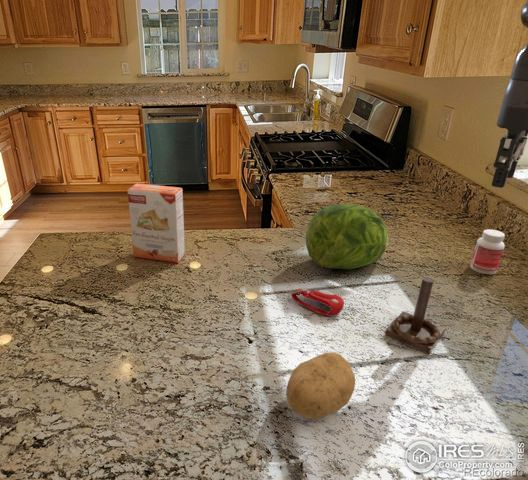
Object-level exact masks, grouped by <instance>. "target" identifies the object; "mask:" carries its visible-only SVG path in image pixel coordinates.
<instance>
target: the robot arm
mask: <svg viewBox="0 0 528 480" xmlns="http://www.w3.org/2000/svg"><path fill="white" fill-rule="evenodd" d="M520 21H521V23H522V25H523V26H524V27H525V28H527V29H528V0H526V1H525V3H524V4H523V6H522V8H521V10H520ZM511 69H512V70H511V73H510V77H509V80H508V83H507V85H506V88H505V90H504V93H503V98H502V101H501V106H500V110H499V114H498V117H497V121H496V127H498V128H501V129H506V130H507V132H506V134H505V135H504V136H502V137H501V139H500V141H499V146H498V149H497V153H496V156H495V160H494V162H493V164H492V165H493V168H494V169H495V171H494V174H493V178H492V180H491V186H492V187H494V188H500V189H503V188H504V187H505V186H506V182H507V179H512V178H514V176H515V172H516V169H517V167H518V162H519V161H520V160H521V157H522V156H523V155H524V151H525V149H526V145H527V142H528V42H527V43H526V45H525V46H523V47H522V48H520V49H519V50H518V52H517V53H516V56H515V58H514V61H513V65H512V68H511ZM502 160H504V162H502Z"/></svg>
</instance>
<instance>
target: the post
mask: <svg viewBox="0 0 528 480" xmlns="http://www.w3.org/2000/svg"><path fill="white" fill-rule="evenodd" d="M434 282H435V281H434V279H433V278H432V277H428V276H425V277H422V279H421V283H420V288H419V291H418V297H417V300H416V304H415V307H414V312H413V314H412V313H409V312H407V311H404V310H402V311H401V312H400V313H399V315H398V316H403V315H414V316H413V320H412V321H409V320H408V321H403V322H401V323H400V324H399V325H400V328H401V329H402V330H403V331H404V332H405V333H408V334H410V335H412V336H414V337H421V338H427V337H431V336H432V335H433V331H432V330H431V329H430V328H429V327H428V326H427V325H425V324H423V321H424V318H425V316H426V312H427V309H428V305H429V301H430V297H431V293H432V290H433V285H434ZM432 323H433V324H435V325H436V326H437V327H438V329H439V332H440V337H439V338H438V340H437V341H436V342H433V343H429V344H420V343H414V342H411V341H409V340H407V339H404V338H402V337H401V336H400V335H399V334H398V333H397V332H396V331H395V330H394V327H393V321H392V322H391V323H390V324H389V325H388V326H387V327H386V328H385V332H384V335H385V336H386V337H389V338H391V339H393V340H395V341H398V342H400V343H402V344H405V345H407V346H409V347H411V348H414V349H415V350H417V351H420V352H423V353H425V354H428V355H430V354H431V352H433V350H434V348H435V347H436V346H437V344H438V343H439V341H440V340H441V339H442V337H443V336H444V335H445V332H446V327H444V326H442V325H439V324H437V323H435V322H432Z"/></svg>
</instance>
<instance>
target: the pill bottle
mask: <svg viewBox="0 0 528 480" xmlns="http://www.w3.org/2000/svg"><path fill="white" fill-rule="evenodd" d="M481 235H482V237H479V238H478V239H477V240H476V244H475V247H474V251H473V255H472V258H471V261H470V264H469V267H470V268H471V270H473V271H475V272H476V273H480V274H483V275H494V274H497V272H498V268H499V266H500V263H501V259H502V256H503V253H504V250H505V247H506V246H505V242H504V240H505V236H506V235H505V233H504V232H503V231H500V230H496V229H491V228H490V229H489V228H488V229H484V230H483V231H482V234H481Z"/></svg>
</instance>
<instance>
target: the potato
mask: <svg viewBox="0 0 528 480" xmlns="http://www.w3.org/2000/svg"><path fill="white" fill-rule="evenodd" d="M355 386H356V376H355V373H354V371H353V369H352V366H351V364H350V362H349V361H348V360H347V359H346V358H344V357H343V355H342V354H339V353H337V352H333V351H332V352H330V351H329V352H324V353H321V354H319V355H316V356H314V357H312V358H310V359H308V360H306V361H305V360H304V361H303V362H301V363H299V364H298V365H297V366H296V367H295V368H294V369H293V370H292V372H291V374H290V377H289V379H288V381H287V385H286V390H285V396H286V401H287V403H288V405H289V407H290V409H291V410H292V411H293V412H295V413H297V414H298V415H300V416H302V417H303V418H307V419H309V420H320V419H322V418H325V417H327V416H329V415H332V414H334V413H337V412H338V411H339V410H341V409H342V408H344V407H346V405H348V404H349V401H350V400H351V398H352V396H353V394H354V392H355V388H356V387H355Z"/></svg>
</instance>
